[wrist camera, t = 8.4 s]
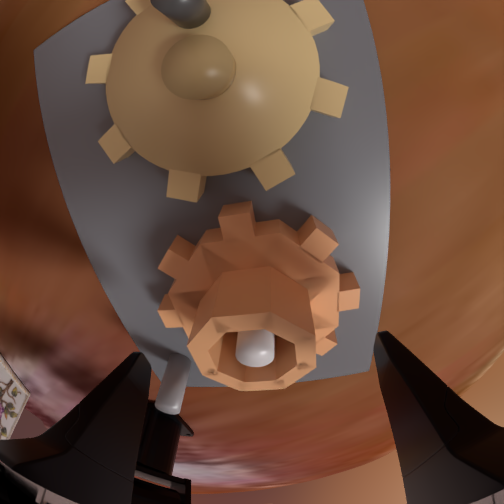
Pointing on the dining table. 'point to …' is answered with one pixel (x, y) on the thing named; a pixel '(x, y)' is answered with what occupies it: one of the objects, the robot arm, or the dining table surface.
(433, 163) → the dining table surface
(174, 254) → the loose gear
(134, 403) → the robot arm
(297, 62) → the gear board
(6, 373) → the decorative jar
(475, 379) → the dining table surface
